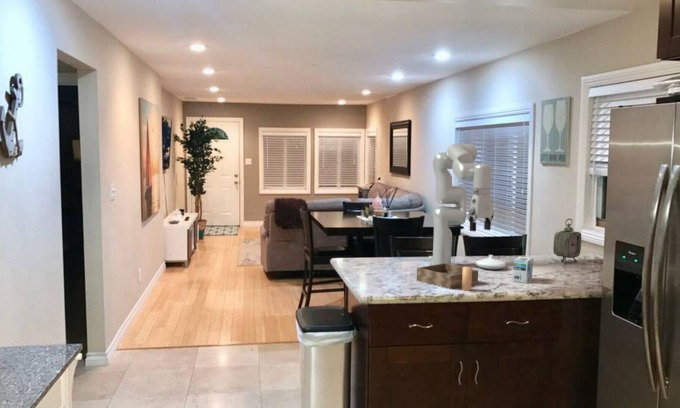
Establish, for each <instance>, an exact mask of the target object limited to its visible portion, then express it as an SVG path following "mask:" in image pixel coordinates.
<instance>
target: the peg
mask: <svg viewBox="0 0 680 408" xmlns="http://www.w3.org/2000/svg"><path fill="white" fill-rule="evenodd" d="M462 267H463V274H462V287H461V291H463V290H464V291H465V292H470V291H472V285H471V281H472V269H473V267H471V266H462Z"/></svg>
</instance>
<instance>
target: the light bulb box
mask: <svg viewBox="0 0 680 408" xmlns="http://www.w3.org/2000/svg"><path fill="white" fill-rule="evenodd" d="M533 269H534V258H533V257H530V256H529V257H527V256H522V255H521V256H517V257H516V258H514V259H513V272H512V273H513V276H512V282H514V283H516V282H517V283H524V284H528V283H529V282H531V281H532V280H533Z"/></svg>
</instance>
